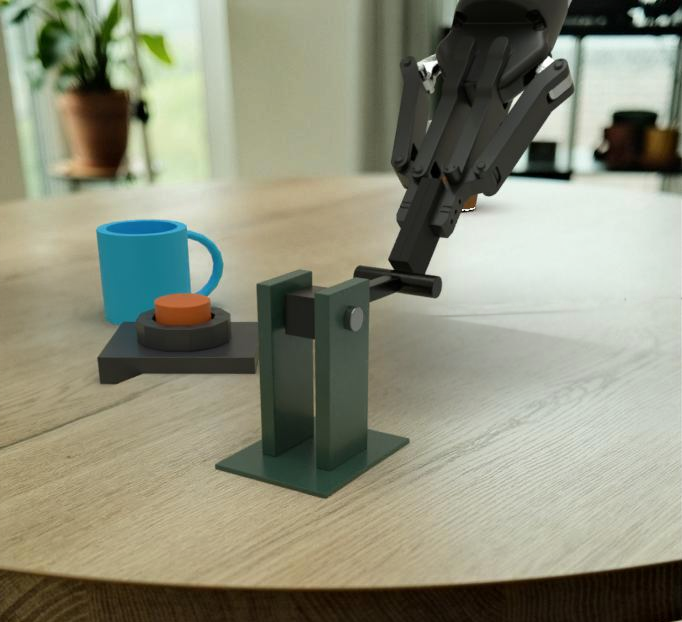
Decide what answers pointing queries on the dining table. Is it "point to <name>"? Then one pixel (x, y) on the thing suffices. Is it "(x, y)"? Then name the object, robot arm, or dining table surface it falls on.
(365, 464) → the green crank press stand
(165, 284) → the mug
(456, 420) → the dining table surface
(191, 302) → the button
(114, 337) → the control block
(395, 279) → the switch lever
